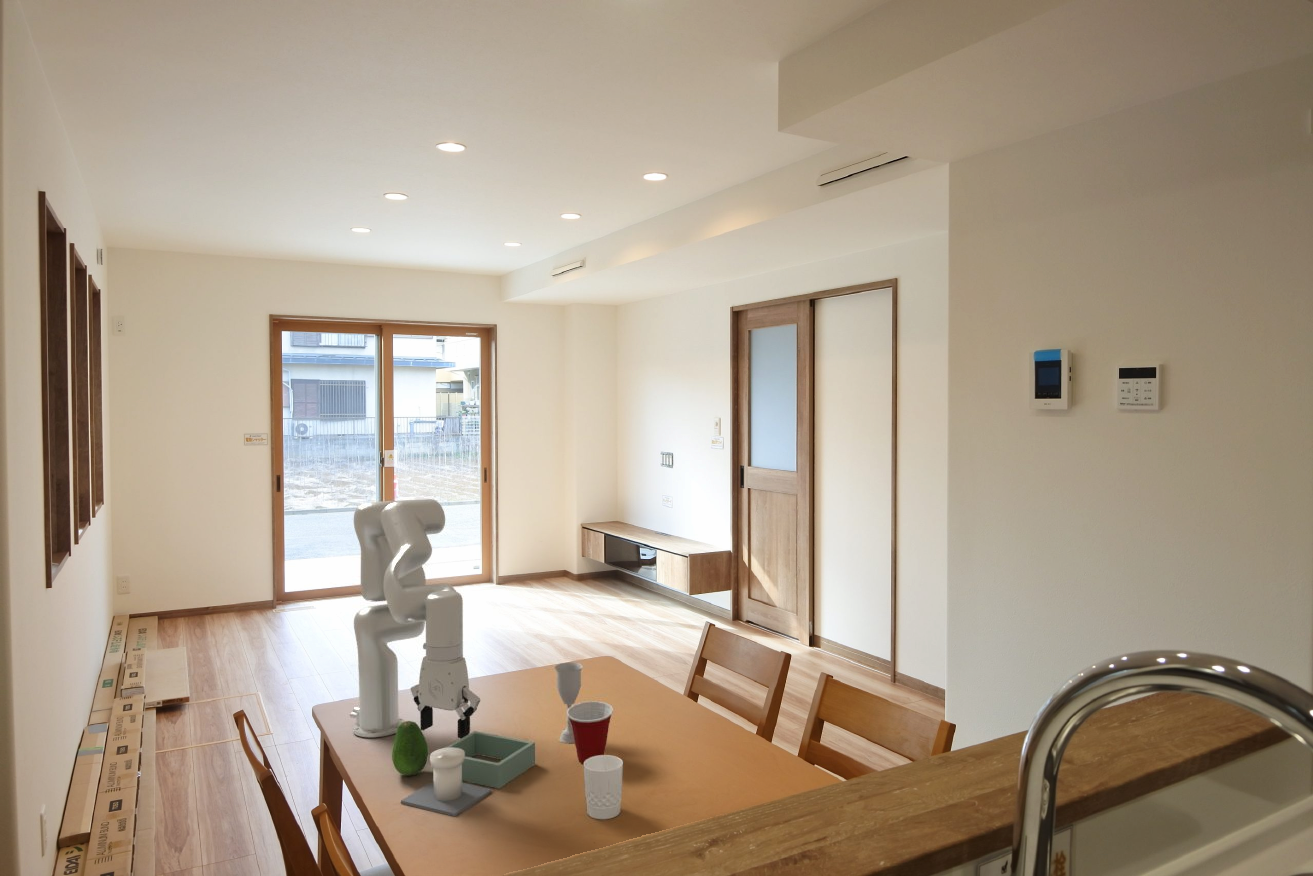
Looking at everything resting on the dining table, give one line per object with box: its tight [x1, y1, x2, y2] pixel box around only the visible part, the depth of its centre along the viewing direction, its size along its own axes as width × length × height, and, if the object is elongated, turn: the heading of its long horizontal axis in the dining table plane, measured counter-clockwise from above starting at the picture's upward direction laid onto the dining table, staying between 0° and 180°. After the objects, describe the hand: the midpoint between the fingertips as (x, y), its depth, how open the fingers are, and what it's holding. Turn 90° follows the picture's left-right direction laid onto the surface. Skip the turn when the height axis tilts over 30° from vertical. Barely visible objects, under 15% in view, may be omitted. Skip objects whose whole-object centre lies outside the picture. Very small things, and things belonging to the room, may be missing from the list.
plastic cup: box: [566, 700, 614, 765], centre depth 196 cm, size 11×11×12 cm
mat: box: [400, 780, 493, 818], centre depth 177 cm, size 14×12×1 cm
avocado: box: [391, 720, 429, 777], centre depth 188 cm, size 8×8×12 cm
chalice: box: [554, 661, 584, 744], centre depth 208 cm, size 7×7×18 cm
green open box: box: [444, 730, 536, 789], centre depth 191 cm, size 17×14×5 cm
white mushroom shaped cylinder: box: [429, 747, 465, 801], centre depth 177 cm, size 7×7×9 cm
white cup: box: [583, 754, 624, 820], centre depth 170 cm, size 8×8×10 cm
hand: (445, 732), depth 177 cm, fingers open, 9 cm apart
